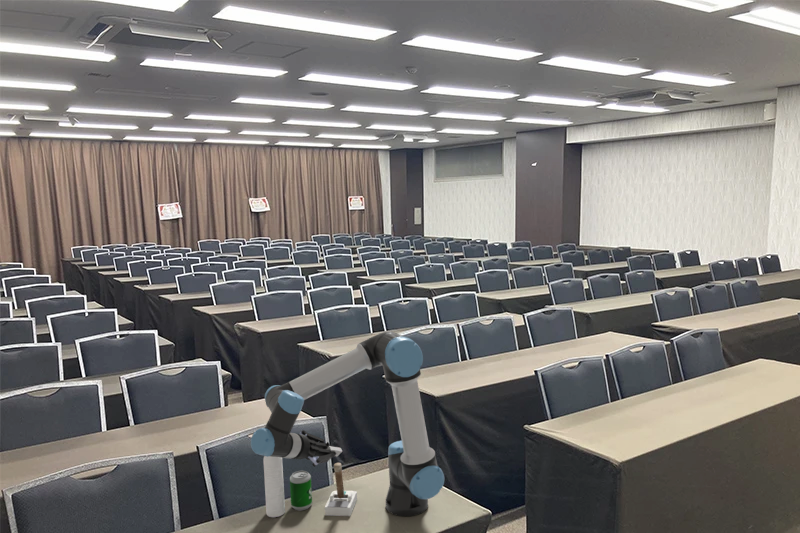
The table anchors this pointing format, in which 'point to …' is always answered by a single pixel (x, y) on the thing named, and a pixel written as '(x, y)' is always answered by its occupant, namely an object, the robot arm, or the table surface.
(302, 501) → the soda can
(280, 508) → the water bottle
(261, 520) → the table surface
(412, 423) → the robot arm
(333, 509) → the switch box
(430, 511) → the table surface
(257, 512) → the table surface
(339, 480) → the lever
